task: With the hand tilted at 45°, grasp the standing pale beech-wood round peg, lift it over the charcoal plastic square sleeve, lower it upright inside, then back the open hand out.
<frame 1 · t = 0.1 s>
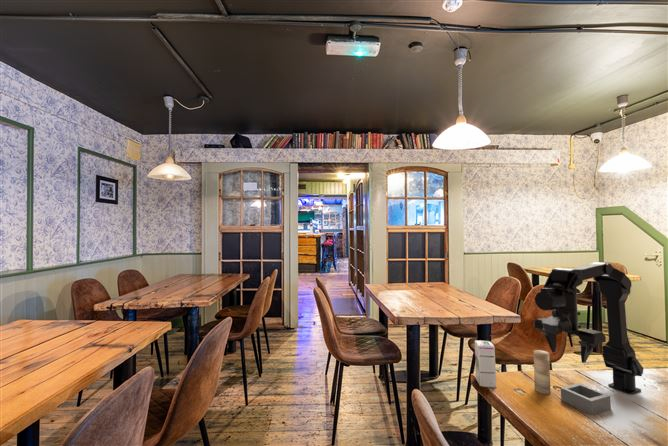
hand: (567, 357, 99), 15 cm above the table, tool pointing down, fingers open, 9 cm apart
wooden peg: (542, 390, 107), on the table
syrup box: (485, 384, 113), on the table
square sleeve socket: (585, 404, 98), on the table
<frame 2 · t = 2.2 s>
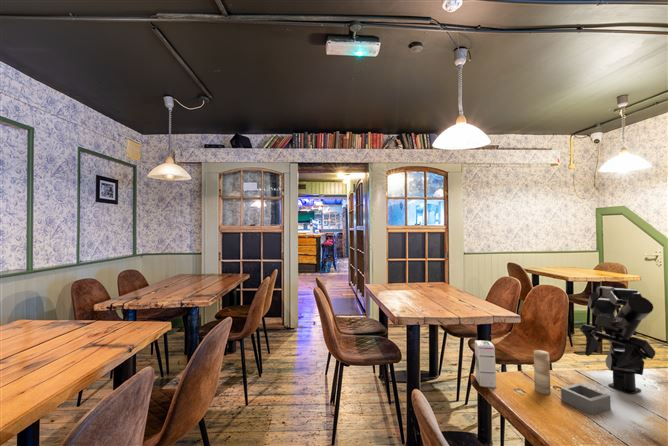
hand: (601, 360, 99), 14 cm above the table, tool tilted 45°, fingers open, 9 cm apart
nothing on the table moved.
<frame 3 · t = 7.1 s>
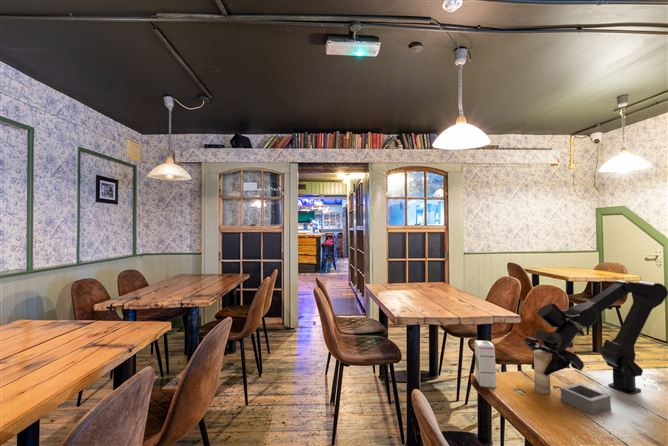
hand: (538, 371, 107), 7 cm above the table, tool tilted 45°, fingers closed on wooden peg, 4 cm apart
wooden peg: (542, 390, 107), on the table, touching gripper
everything else where it was.
when the fingers open (8 cm above the table, at t = 12.5 s): wooden peg stays where it is, resting in square sleeve socket.
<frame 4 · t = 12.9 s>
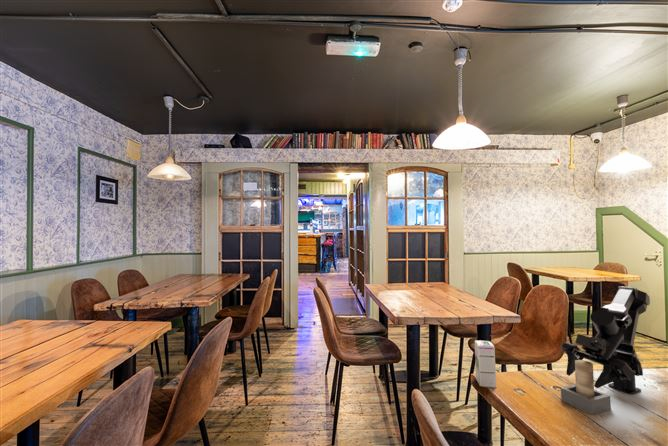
hand: (581, 380, 98), 8 cm above the table, tool tilted 45°, fingers open, 8 cm apart
wooden peg: (585, 404, 98), resting in square sleeve socket
everything else where it was.
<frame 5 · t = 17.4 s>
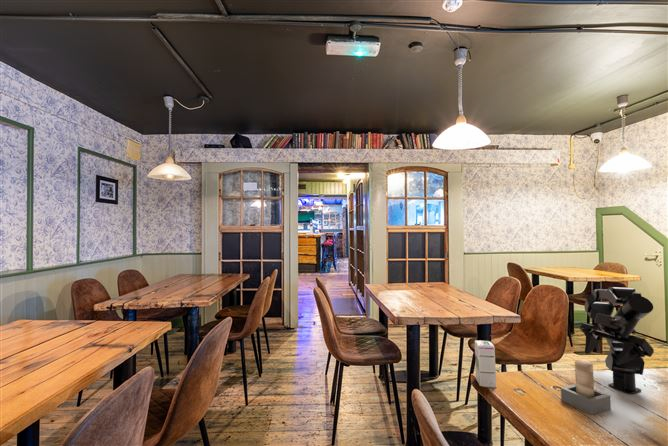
hand: (600, 358, 101), 14 cm above the table, tool tilted 45°, fingers open, 9 cm apart
nothing on the table moved.
at the end: wooden peg 0.1 cm off-centre on the square sleeve socket, point 0.0 cm above the square sleeve socket's base; wooden peg tilted 0°; the gripper is holding nothing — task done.
